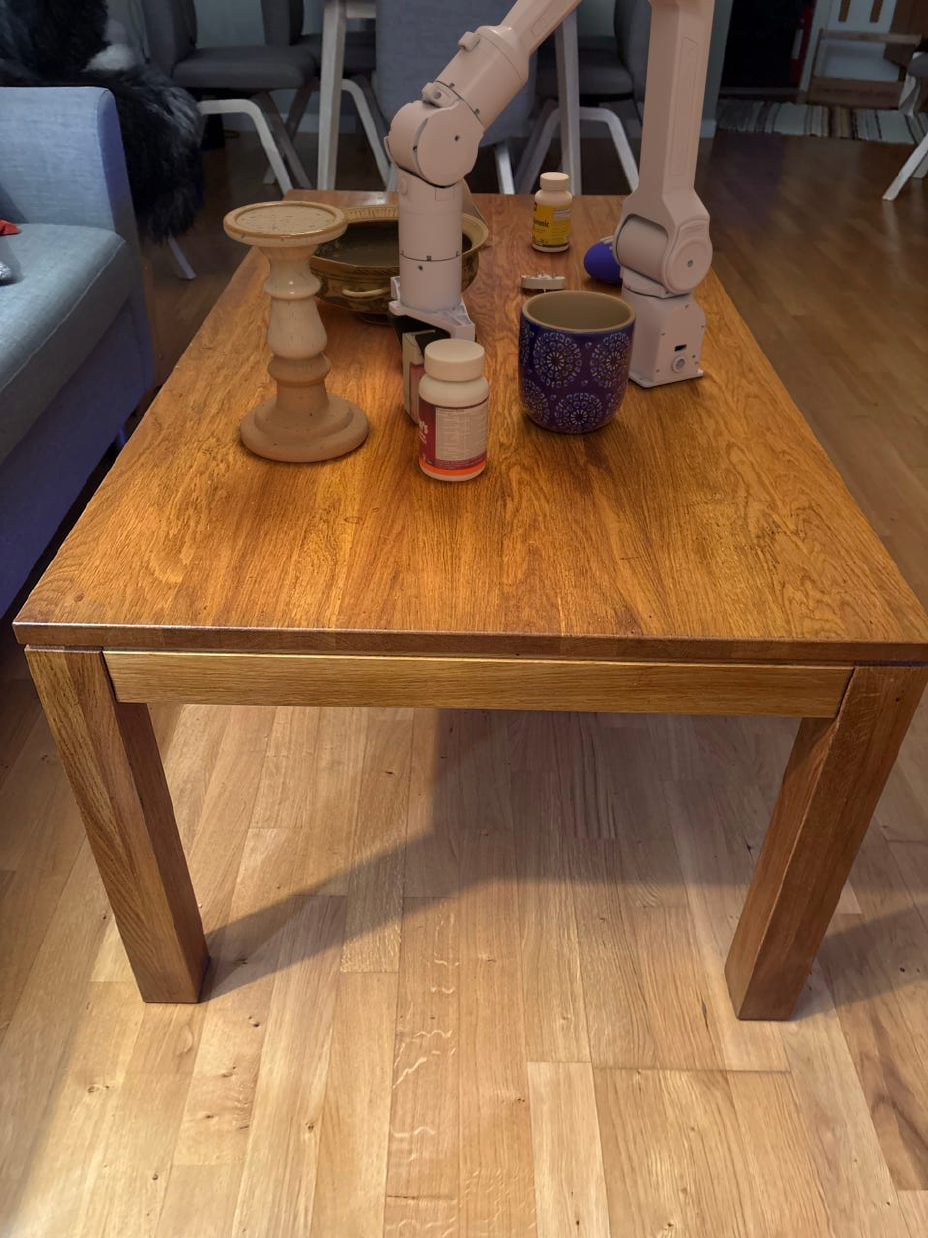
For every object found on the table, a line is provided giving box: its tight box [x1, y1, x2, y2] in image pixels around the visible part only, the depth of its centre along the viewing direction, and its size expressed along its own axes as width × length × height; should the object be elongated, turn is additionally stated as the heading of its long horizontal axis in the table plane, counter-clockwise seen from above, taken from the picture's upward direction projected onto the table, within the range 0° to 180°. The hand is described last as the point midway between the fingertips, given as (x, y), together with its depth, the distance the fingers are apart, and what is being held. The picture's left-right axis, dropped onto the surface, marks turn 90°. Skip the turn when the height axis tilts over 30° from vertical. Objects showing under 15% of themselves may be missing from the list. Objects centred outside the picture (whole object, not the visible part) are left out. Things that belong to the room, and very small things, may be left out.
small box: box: [402, 330, 435, 424], centre depth 96 cm, size 5×4×8 cm
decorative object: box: [582, 235, 623, 285], centre depth 128 cm, size 10×6×10 cm
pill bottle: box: [418, 339, 490, 482], centre depth 86 cm, size 6×6×11 cm
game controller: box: [520, 270, 566, 293], centre depth 124 cm, size 6×12×3 cm, turn 16°
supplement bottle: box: [531, 171, 573, 253], centre depth 139 cm, size 5×5×10 cm
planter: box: [517, 289, 636, 435], centre depth 94 cm, size 11×11×11 cm
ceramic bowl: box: [310, 203, 490, 326], centre depth 116 cm, size 30×24×10 cm
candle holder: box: [222, 200, 370, 463], centre depth 88 cm, size 12×12×20 cm
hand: (430, 391), depth 97 cm, fingers closed on small box, 5 cm apart
